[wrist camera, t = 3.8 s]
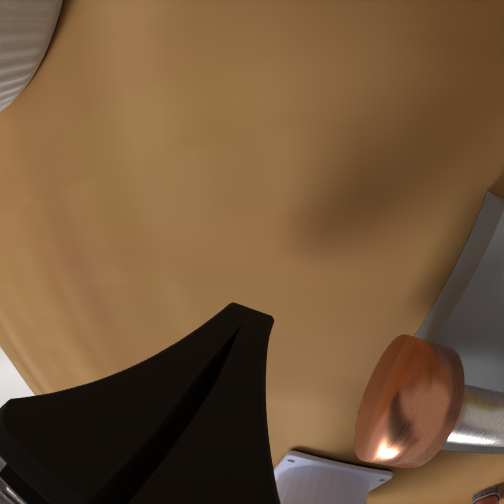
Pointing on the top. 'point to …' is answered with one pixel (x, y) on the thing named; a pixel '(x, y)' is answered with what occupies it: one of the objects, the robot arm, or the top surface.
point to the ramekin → (23, 42)
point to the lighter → (487, 496)
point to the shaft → (423, 406)
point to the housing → (475, 309)
